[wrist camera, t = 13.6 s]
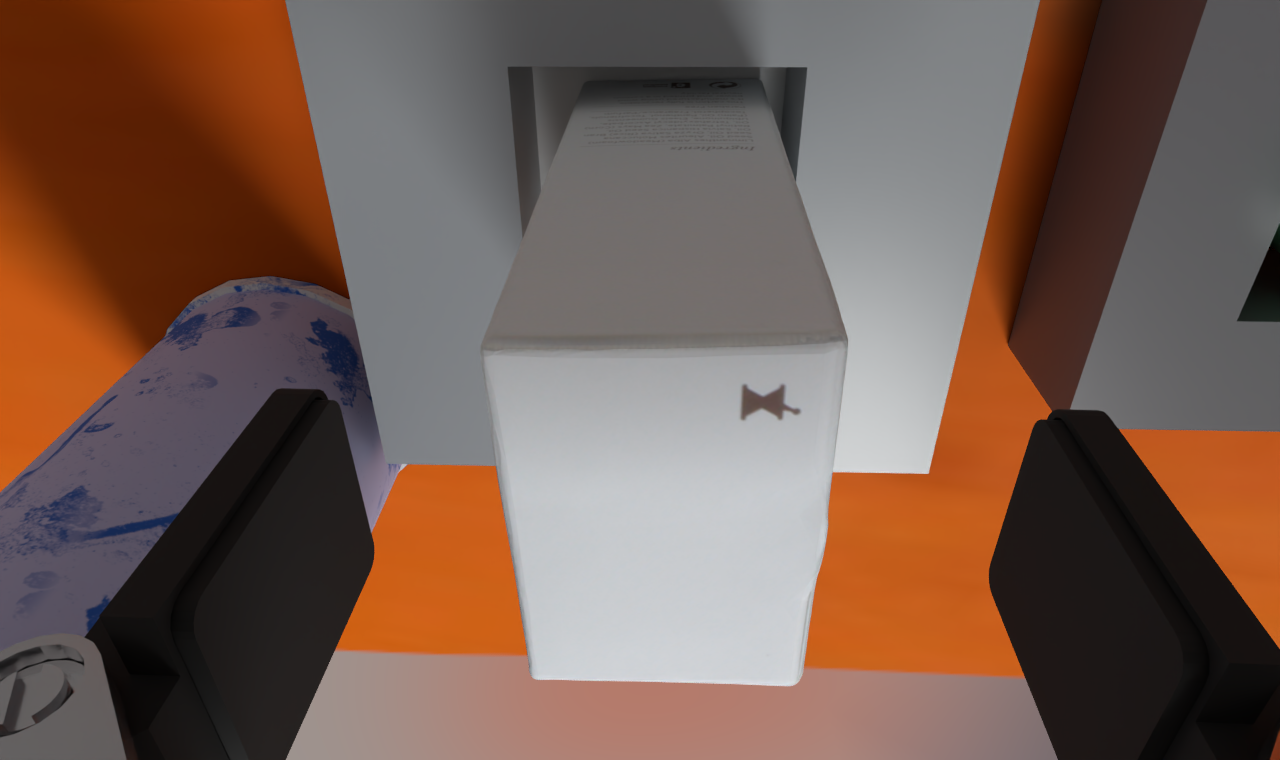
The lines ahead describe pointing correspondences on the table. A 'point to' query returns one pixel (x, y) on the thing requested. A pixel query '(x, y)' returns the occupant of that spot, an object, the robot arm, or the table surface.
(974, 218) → the grey slotted board
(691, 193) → the skincare box
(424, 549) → the table surface
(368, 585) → the table surface
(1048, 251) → the button housing
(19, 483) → the aerosol can
